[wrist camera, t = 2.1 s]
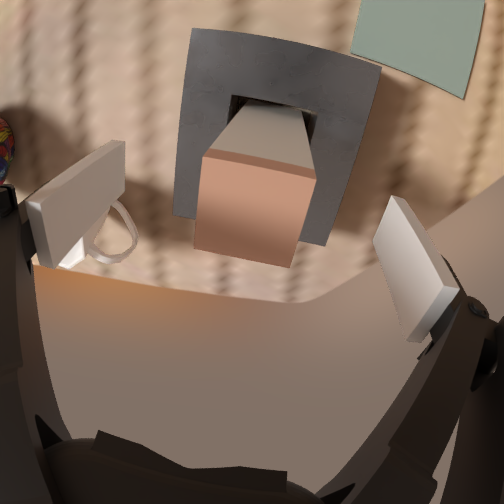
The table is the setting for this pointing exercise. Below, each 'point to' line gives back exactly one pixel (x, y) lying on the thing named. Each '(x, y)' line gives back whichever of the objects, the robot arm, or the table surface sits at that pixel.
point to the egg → (5, 149)
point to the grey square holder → (281, 91)
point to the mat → (421, 38)
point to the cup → (89, 247)
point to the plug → (256, 186)
